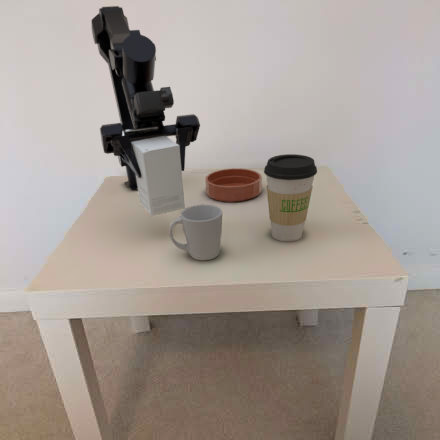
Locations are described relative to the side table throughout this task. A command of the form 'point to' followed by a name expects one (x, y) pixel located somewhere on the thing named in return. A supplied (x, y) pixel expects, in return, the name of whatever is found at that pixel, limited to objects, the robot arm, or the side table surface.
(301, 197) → the coffee cup
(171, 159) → the white packaging box
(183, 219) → the cup
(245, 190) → the bowl
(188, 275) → the side table surface
